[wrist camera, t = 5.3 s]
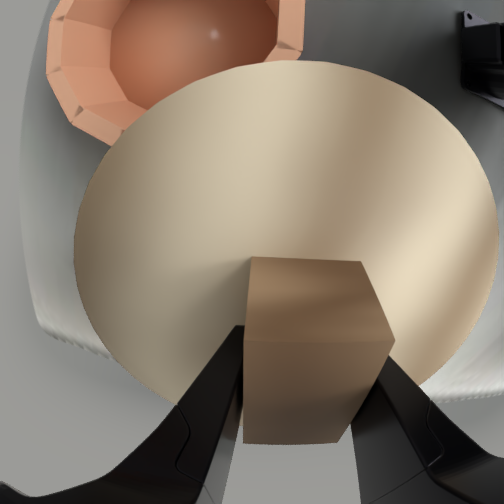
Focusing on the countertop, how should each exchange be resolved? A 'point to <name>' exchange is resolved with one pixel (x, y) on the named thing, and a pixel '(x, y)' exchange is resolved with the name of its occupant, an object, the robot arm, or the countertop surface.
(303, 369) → the lid
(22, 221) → the countertop surface
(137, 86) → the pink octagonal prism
